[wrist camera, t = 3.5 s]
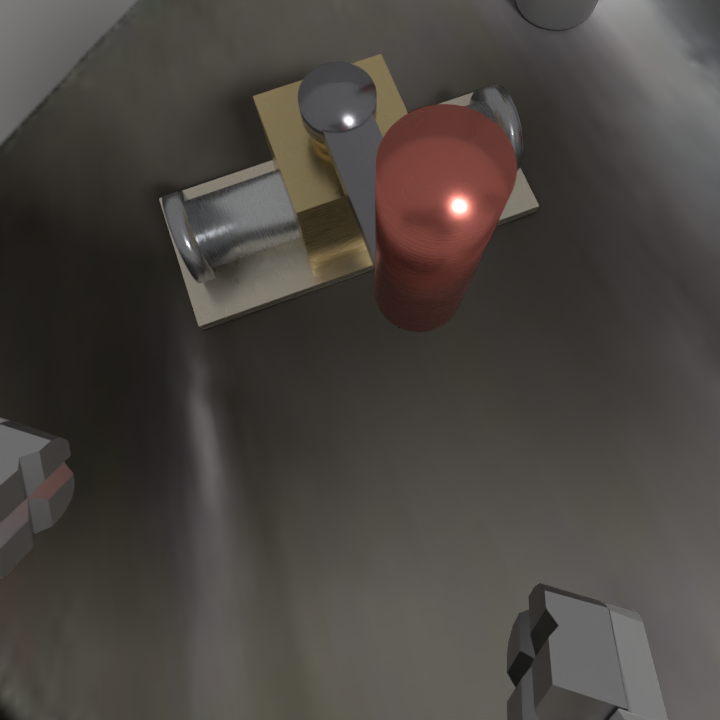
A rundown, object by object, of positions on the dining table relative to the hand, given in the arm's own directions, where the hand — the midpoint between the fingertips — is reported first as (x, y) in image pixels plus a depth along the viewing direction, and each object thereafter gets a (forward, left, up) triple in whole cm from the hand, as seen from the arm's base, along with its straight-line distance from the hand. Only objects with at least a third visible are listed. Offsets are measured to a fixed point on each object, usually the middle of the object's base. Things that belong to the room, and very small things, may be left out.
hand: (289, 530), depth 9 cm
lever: (-6, -12, -13) cm, 19 cm away
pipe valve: (-6, -17, -22) cm, 29 cm away
